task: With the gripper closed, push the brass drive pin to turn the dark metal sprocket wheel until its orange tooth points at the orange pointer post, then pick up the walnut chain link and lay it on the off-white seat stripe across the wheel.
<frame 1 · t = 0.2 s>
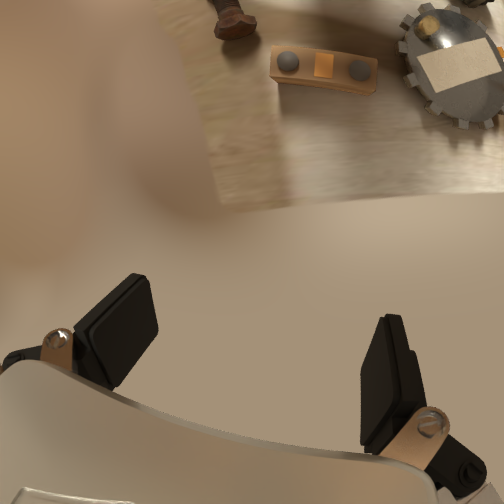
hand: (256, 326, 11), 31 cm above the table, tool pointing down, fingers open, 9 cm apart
chain link: (324, 74, 31), on the table
sprocket: (466, 61, 21), point 5 cm above the table, hinge at 35.0°
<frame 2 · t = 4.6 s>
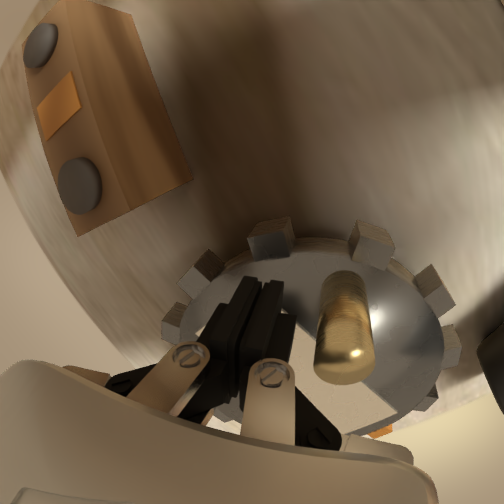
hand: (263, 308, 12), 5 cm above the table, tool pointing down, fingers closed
chain link: (133, 102, 14), on the table
sprocket: (305, 397, 14), point 5 cm above the table, hinge at 28.3°, touching gripper
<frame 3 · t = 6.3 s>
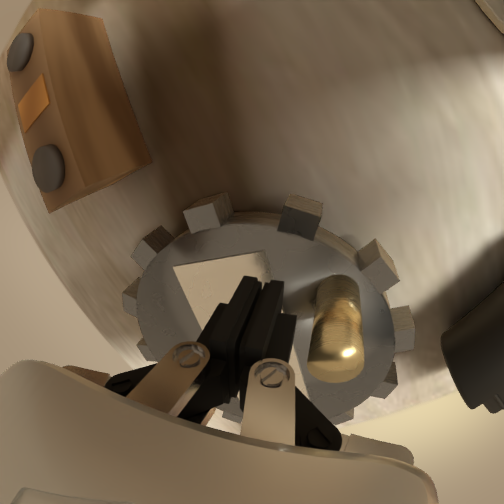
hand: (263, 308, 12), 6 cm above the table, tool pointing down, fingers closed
chain link: (103, 96, 15), on the table
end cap: (500, 295, 14), on the table
sprocket: (249, 371, 15), point 5 cm above the table, hinge at -1.3°, touching gripper
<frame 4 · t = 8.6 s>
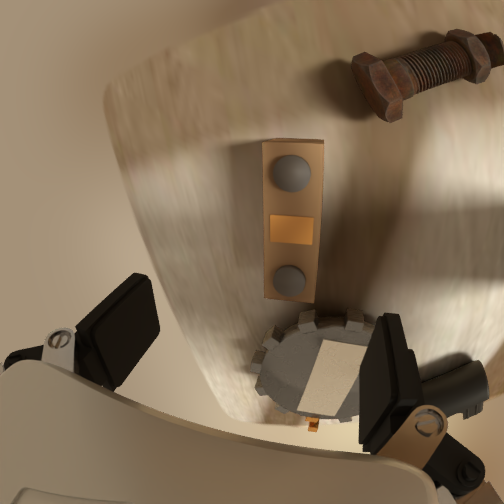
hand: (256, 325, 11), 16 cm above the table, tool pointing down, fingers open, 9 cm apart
chain link: (299, 205, 25), on the table
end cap: (444, 376, 29), on the table
sprocket: (329, 391, 27), point 5 cm above the table, hinge at -3.7°
bolt: (433, 69, 17), on the table
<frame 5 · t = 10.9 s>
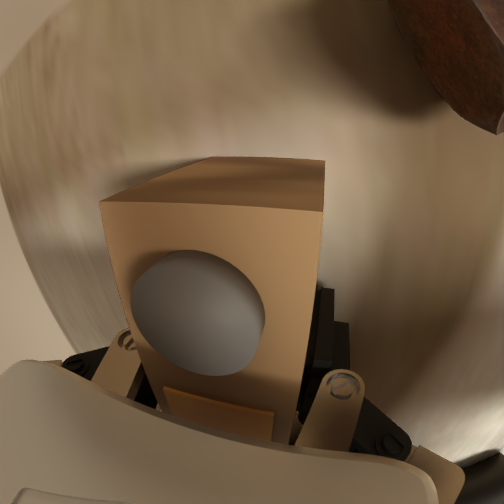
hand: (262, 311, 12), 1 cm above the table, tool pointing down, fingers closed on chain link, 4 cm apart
chain link: (265, 302, 12), on the table, touching gripper
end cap: (463, 468, 16), on the table
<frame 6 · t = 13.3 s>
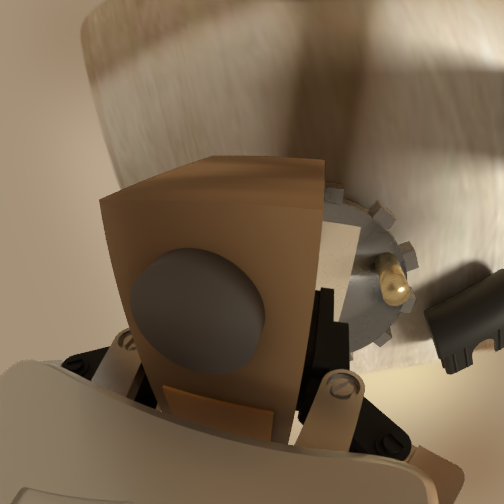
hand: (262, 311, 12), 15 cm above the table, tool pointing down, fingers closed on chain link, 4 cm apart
chain link: (265, 301, 12), point 15 cm above the table, touching gripper
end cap: (463, 299, 25), on the table
sprocket: (315, 300, 23), point 5 cm above the table, hinge at -3.7°
when the fingers open (6 cm above the table, at t = 15.9 s): chain link drops 1 cm, resting on sprocket.
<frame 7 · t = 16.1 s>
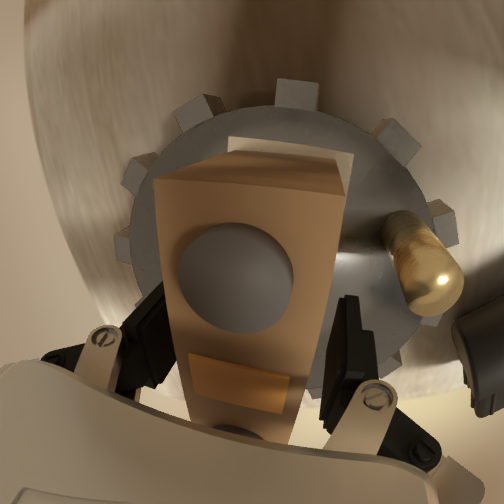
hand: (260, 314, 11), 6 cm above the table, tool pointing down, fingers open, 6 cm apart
chain link: (274, 285, 13), point 4 cm above the table, touching sprocket
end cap: (502, 304, 14), on the table
sprocket: (266, 298, 12), point 5 cm above the table, hinge at -3.7°, touching chain link
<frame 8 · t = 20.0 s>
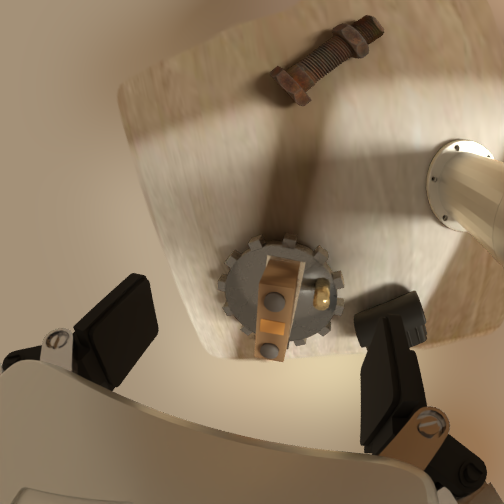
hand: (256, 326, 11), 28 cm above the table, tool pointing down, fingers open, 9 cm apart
chain link: (280, 299, 40), point 4 cm above the table, touching sprocket
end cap: (388, 309, 41), on the table
sprocket: (278, 304, 39), point 5 cm above the table, hinge at -3.7°, touching chain link
bolt: (332, 59, 28), on the table
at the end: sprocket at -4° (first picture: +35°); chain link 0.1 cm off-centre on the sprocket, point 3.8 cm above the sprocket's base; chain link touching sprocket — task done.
